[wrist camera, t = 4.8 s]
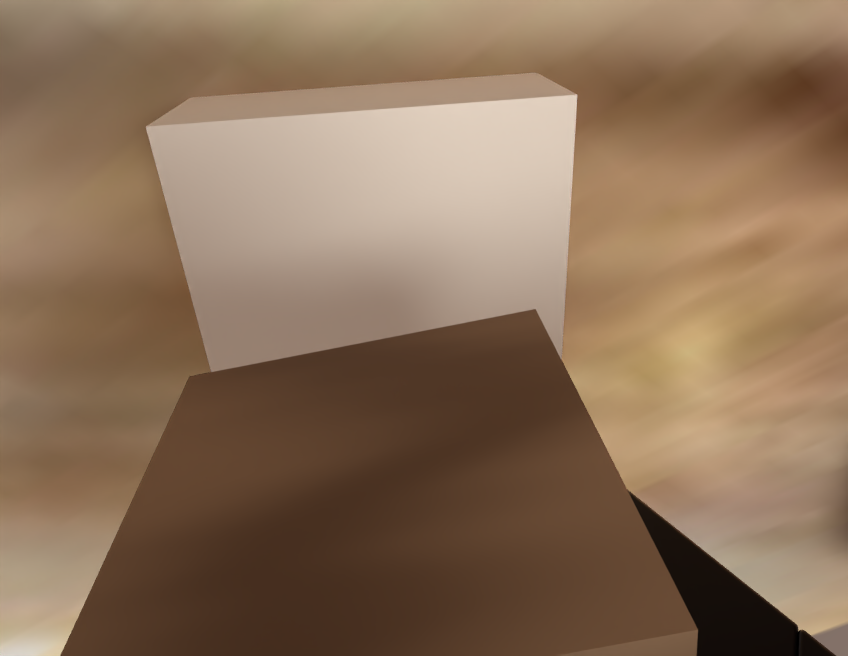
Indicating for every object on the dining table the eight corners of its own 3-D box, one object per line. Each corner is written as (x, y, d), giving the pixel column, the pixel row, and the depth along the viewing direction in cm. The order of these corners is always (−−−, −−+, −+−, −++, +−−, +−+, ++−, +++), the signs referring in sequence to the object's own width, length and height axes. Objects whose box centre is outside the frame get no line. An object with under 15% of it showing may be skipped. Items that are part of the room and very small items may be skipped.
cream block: (533, 71, 17) (576, 94, 13) (526, 357, 21) (557, 431, 18) (193, 95, 16) (145, 126, 13) (257, 381, 21) (235, 462, 17)
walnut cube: (535, 309, 9) (697, 630, 4) (561, 551, 11) (682, 914, 7) (190, 376, 9) (13, 755, 5) (288, 602, 11) (237, 990, 7)
